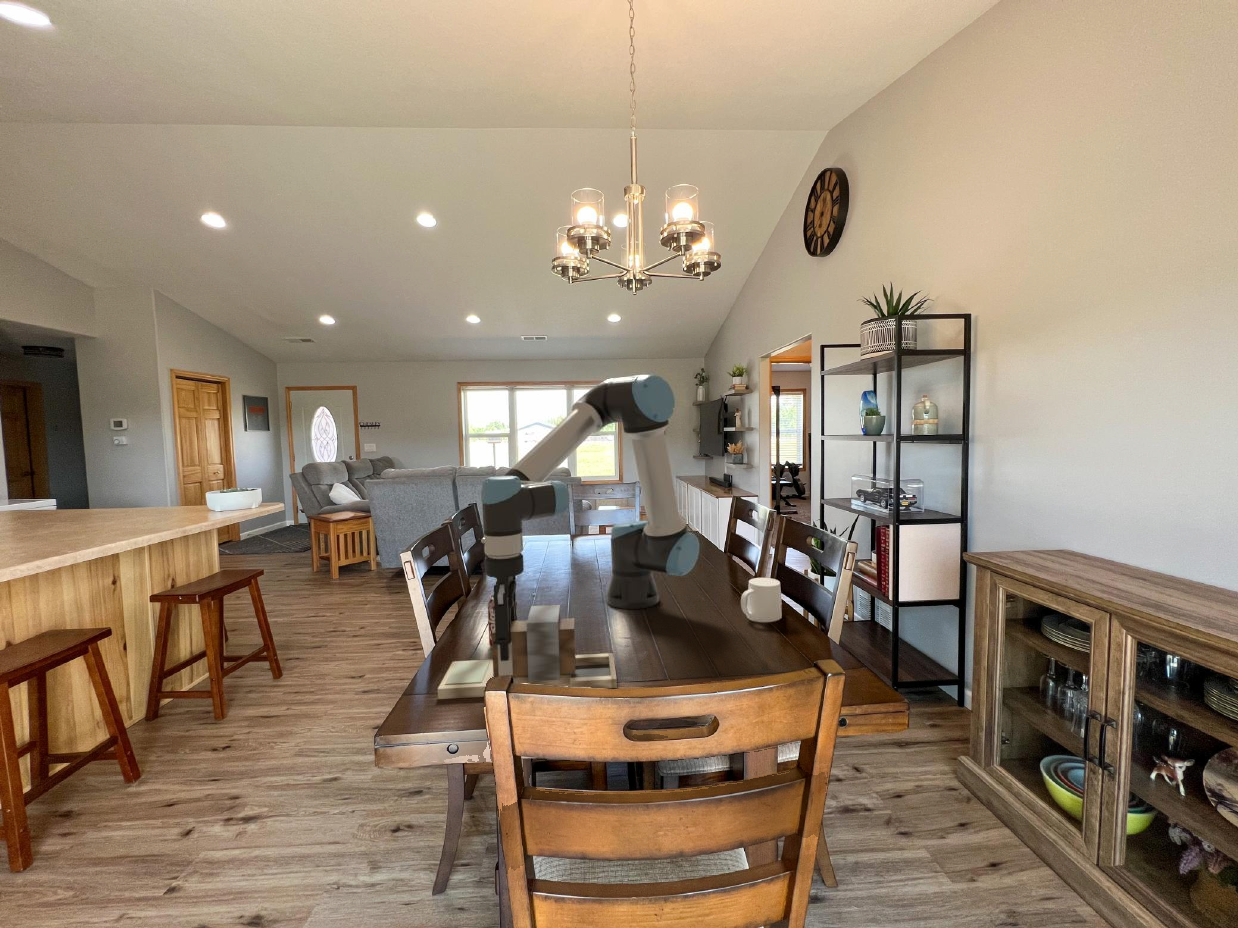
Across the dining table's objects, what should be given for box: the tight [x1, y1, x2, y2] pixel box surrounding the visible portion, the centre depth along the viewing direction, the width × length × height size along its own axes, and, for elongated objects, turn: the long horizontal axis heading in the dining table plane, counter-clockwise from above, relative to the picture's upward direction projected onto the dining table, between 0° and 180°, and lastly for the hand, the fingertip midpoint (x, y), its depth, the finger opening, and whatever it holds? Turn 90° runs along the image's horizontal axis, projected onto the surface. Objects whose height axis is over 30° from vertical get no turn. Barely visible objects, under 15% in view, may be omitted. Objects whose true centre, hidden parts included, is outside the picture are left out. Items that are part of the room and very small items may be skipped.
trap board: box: [437, 604, 618, 700], centre depth 109 cm, size 34×12×14 cm, turn 94°
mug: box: [740, 577, 783, 623], centre depth 141 cm, size 12×9×8 cm
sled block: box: [491, 617, 577, 677], centre depth 109 cm, size 16×6×9 cm, turn 94°
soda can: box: [487, 593, 519, 648], centre depth 126 cm, size 7×7×12 cm
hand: (508, 666), depth 109 cm, fingers closed on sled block, 6 cm apart
